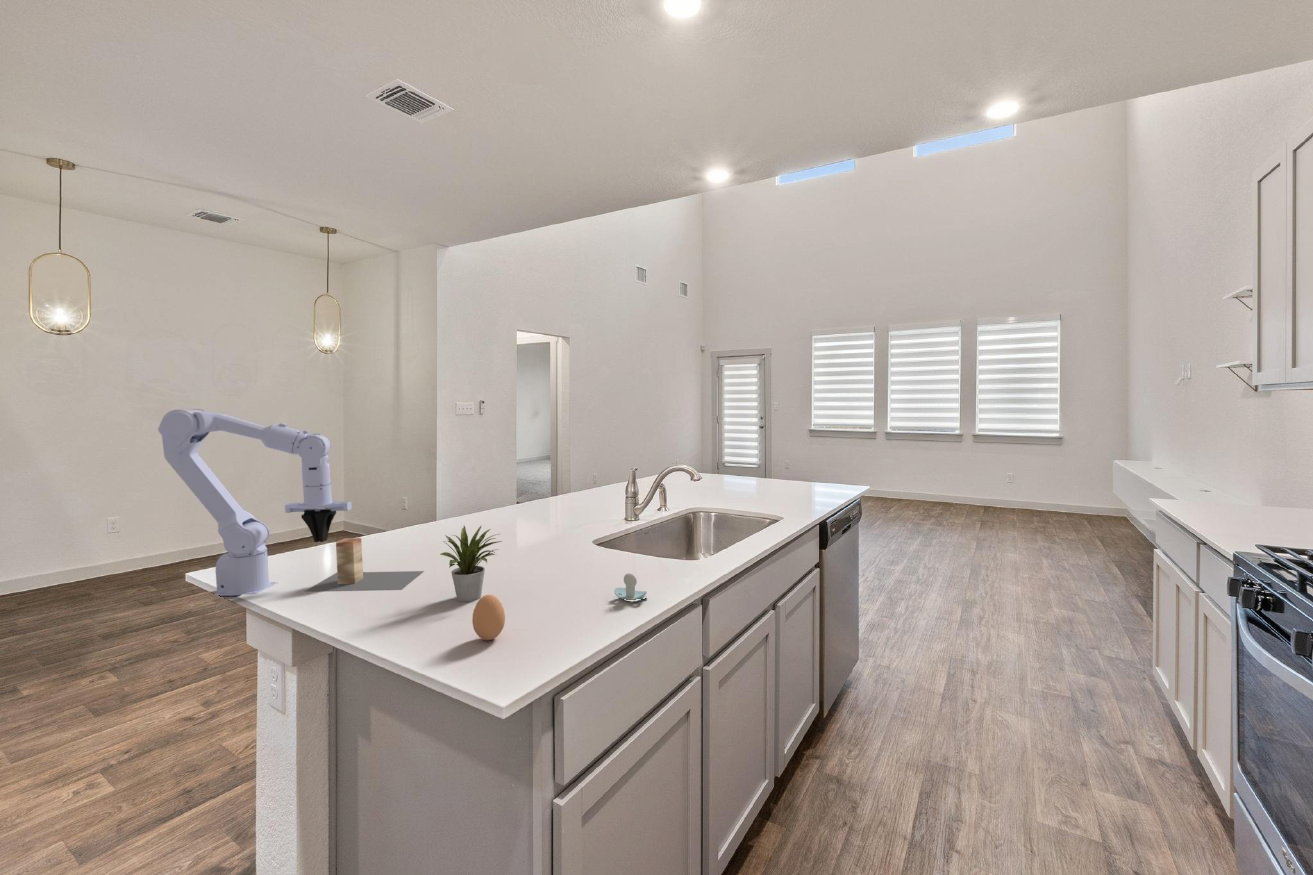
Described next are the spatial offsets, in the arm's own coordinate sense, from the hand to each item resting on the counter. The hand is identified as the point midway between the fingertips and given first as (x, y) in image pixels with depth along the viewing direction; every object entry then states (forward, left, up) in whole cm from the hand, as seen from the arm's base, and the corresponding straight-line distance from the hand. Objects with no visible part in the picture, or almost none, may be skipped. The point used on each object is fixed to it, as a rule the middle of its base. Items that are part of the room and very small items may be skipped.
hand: (320, 541), depth 135 cm
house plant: (+39, -13, -11) cm, 42 cm away
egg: (+49, -34, -11) cm, 60 cm away
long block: (+7, 0, -10) cm, 12 cm away
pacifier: (+75, -15, -11) cm, 77 cm away
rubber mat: (+11, 0, -10) cm, 15 cm away
